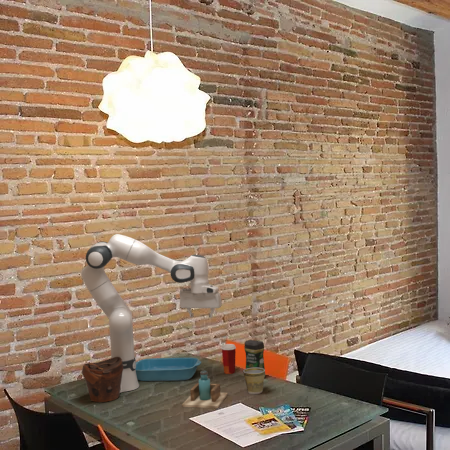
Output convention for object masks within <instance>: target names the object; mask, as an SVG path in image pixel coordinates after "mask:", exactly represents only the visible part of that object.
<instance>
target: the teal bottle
mask: <svg viewBox="0 0 450 450" xmlns="http://www.w3.org/2000/svg"><path fill="white" fill-rule="evenodd" d="M199 373H200V378H199V379H198V383H199V398H200V400H209V399H211V392H210V384H211V378H210V377H208V374H209V372H208V370H201V371H200V372H199Z"/></svg>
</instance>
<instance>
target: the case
mask: <svg viewBox="0 0 450 450" xmlns="http://www.w3.org/2000/svg"><path fill="white" fill-rule="evenodd" d="M122 372H123V363H122V359H121V358H120V357H114V358H112V359H111V358H109V359H105V360H102V361H99V362H89V363H88V362H87V363H84V364H83V365H82V370H81V375H82V376H83V378H84V380H85V383H86V387H87V391H88V394H89V399H90V401H91V402H93V403H94V402H95V403H104V402H110V401H114V400H117V399H118V398H119V397H120V387H121V379H122Z"/></svg>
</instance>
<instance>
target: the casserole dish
mask: <svg viewBox="0 0 450 450" xmlns="http://www.w3.org/2000/svg"><path fill="white" fill-rule="evenodd" d="M201 364H202V360H200V359H199V358H197V357H150V358H143V359H139V360H138V361H136V376H137V380H138V381H142V382H170V381H171V382H173V381H174V382H176V381H177V382H178V381H179V382H180V381H188V380H190V379H192V377H193V376H194V375H195V373H196V372H197V368H198V367H199V366H200V365H201Z"/></svg>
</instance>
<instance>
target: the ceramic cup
mask: <svg viewBox="0 0 450 450" xmlns="http://www.w3.org/2000/svg"><path fill="white" fill-rule="evenodd" d="M242 372H243V373H242V374H243V376H244V377H243V378H244V380H245V384H246V385H245V386H246V391H247V392H248V394H249V395H259V394H261V393H263V391H264V380H265V377H266V368H265V369H263V368H247V369H246V368H245V369H243V371H242ZM264 376H265V377H264Z"/></svg>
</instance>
